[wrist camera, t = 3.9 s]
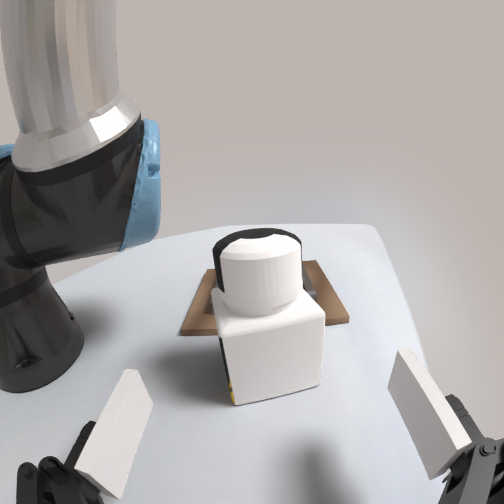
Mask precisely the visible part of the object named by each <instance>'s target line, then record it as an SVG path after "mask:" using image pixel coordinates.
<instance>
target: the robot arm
mask: <svg viewBox="0 0 504 504" xmlns="http://www.w3.org/2000/svg"><path fill="white" fill-rule="evenodd" d="M0 29H1V42H2V51H3V58H4V65H5V70H6V76H7V81H8V86H9V91H10V95H11V99H12V103H13V107H14V111H15V115H16V118H17V122H18V125H19V128H20V132H19V135H18V138H17V140H16V143H15V144H7V145H1V146H0V388H1V389H3V390H6V391H10V392H24V391H29V390H33V389H36V388H39V387H41V386H43V385H45V384H47V383H49V382H51V381H53V380H54V379H56V378H57V377H59V376H60V375H61V374H62V373H64V372H65V371H66V370H67V369H68V368H69V367H70V366H71V365H72V364H73V363H74V361H75V360H76V359H77V357H78V356H79V354H80V352H81V350H82V347H83V342H84V338H83V334H82V332H81V329H80V327H79V325H78V322H77V320H76V318H75V317H74V315H73V314H72V313H71V312H69V310H68V308H67V307H66V305H65V304H64V302H63V301H62V299H61V298H60V296H59V295H58V294H57V292H56V291H55V289H54V288H53V286H52V285H51V283H50V281H49V278H48V275H47V271H46V268H45V266H46V265H50V264H55V263H60V262H65V261H70V260H75V259H80V258H85V257H90V256H95V255H101V254H107V253H112V252H117V251H118V252H121V251H123V250H125V249H126V248H129V247H134V246H137V245H141V244H145V243H148V242H150V241H151V240H152V239H154V237H155V236H156V235H157V233H158V230H159V226H160V209H161V207H160V206H161V186H160V173H159V171H160V134H159V126H158V123H157V122H156V121H154V120H148V119H143V120H142V121H141V114H140V105H139V103H138V102H137V101H136V100H135V99H134V98H132V97H130V96H129V95H127V94H125V93H124V92H122V91H121V90H120V88H119V82H118V69H117V52H116V0H0ZM387 388H388V390H389V392H390V394H391V396H392V398H393V400H394V402H395V404H396V406H397V408H398V410H399V412H400V414H401V416H402V418H403V420H404V423H405V425H406V427H407V429H408V431H409V433H410V435H411V438H412V440H413V442H414V444H415V447H416V449H417V451H418V453H419V456H420V458H421V460H422V463H423V465H424V467H425V470H426V472H427V475H428V477H429V479H430V480H431V479H434V478H436V477H438V476H440V475H442V474H444V473H445V472H446V471H447V470H448V469H449V468H450V470H451V472H450V473H449V474H448V475H447V476H446V477H445V478H444V480H443V481H442V483H444V482H445V481H446V480H447V479H448V480H447V483H446V485H445V488H444V491H443V493H442V496H441V498H440V500H439V503H438V504H504V438H503V439H500V440H494V439H491V438H485V437H484V436H483V435H482V434H481V432H480V430H479V429H478V427H477V426H476V424H475V422H474V421H473V419H472V418H471V416H470V415H468V412H467V410H466V409H465V408H464V406H463V404H462V403H461V401H460V400H459V399H458V398H457V397H455V396H454V395H452V394H451V395H448V396H446V397H444V396H443V394H442V393H441V391H440V390H439V388H438V387H437V385H436V384H435V382H434V381H433V379H432V378H431V376H430V375H429V373H428V372H427V370H426V369H425V368H424V366H423V365H422V363H421V362H420V360H419V359H418V358H417V356H416V355H415V353H414V352H413V351H412V349H411V348H410V347H409V348H405V349H401V350H398V351H397V355H396V359H395V363H394V366H393V370H392V373H391V377H390V380H389V383H388V387H387ZM153 405H154V404H153V402H152V400H151V398H150V396H149V394H148V391H147V389H146V387H145V385H144V383H143V381H142V378H141V376H140V374H139V371H138V370H131V369H125V371H124V372H123V374H122V376H121V378H120V380H119V381H118V383H117V385H116V387H115V389H114V390H113V392H112V394H111V396H110V398H109V400H108V402H107V403H106V405H105V407H104V409H103V411H102V413H101V415H100V417H99V419H98V421H97V422H94V421H89V422H88V423H87V424H86V425H85V426H84V427H83V429H82V430H81V432H80V434H79V436H78V438H77V440H76V443H75V444H74V446H73V448H72V449H71V451H70V453H69V455H68V457H67V459H66V461H65V463H64V465H63V464H62V463H61V462H60V461H59V460H58V459H57V458H56V457H53V456H47V457H45V458H43V459H42V460H41V461H40V463H39V465H38V468H37V467H36V466H34V465H33V464H32V463H29V462H25V463H23V464H21V465H20V467H19V468H18V473H17V493H16V504H104V503H103V501H102V498H101V497H100V496H99V493H100V491H101V492H102V493H104V494H105V495H106V496H109V497H112V498H115V499H119V500H121V497H122V494H123V491H124V488H125V485H126V482H127V479H128V476H129V473H130V470H131V467H132V464H133V461H134V458H135V455H136V452H137V449H138V447H139V444H140V441H141V438H142V435H143V433H144V430H145V427H146V424H147V422H148V419H149V416H150V413H151V411H152V408H153Z"/></svg>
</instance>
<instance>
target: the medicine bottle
mask: <svg viewBox="0 0 504 504" xmlns="http://www.w3.org/2000/svg"><path fill="white" fill-rule="evenodd" d="M212 251H213V258H214V265H215V272H216V278H217V285H218V288H213V289H212V291H211V296H212V302H213V308H214V314H215V320H216V325H217V331H218V336H219V341H220V346H221V351H222V356H223V361H224V366H225V371H226V375H227V380H228V385H229V389H230V394H231V398H232V402H233V403H234V404H235V405H241V404H246V403H251V402H256V401H261V400H265V399H270V398H274V397H278V396H282V395H286V394H290V393H294V392H297V391H301V390H305V389H308V388H311V387H315V386H318V385H320V383H321V378H322V366H323V352H324V335H325V312H324V311H323V309H322V308H321V307H320V306H319V305H318V304H317V303H316V302H315V301H314V300H313V299H312V298H311V297H310V295H309V294H308V293H307V292H306V291H305V290H304V289H303V275H302V246H301V241H300V239H299V238H298V237H297V236H296V235H294V234H292V233H290V232H287V231H284V230H281V229H275V228H257V229H248V230H243V231H238V232H235V233H232V234H229V235H227V236H226V237H224V238H223V239H221V240H219V241H218V242H217V243H216V244H215V246H214V248H213V250H212Z"/></svg>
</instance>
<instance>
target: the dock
mask: <svg viewBox="0 0 504 504" xmlns="http://www.w3.org/2000/svg"><path fill="white" fill-rule="evenodd" d="M302 275H303V289H304V290H305V291H306V292H307V293H308V294H309V295H310V297H311V298H312V299H313V300H314V301H315V302H316V303H317V304H318V305H319V306H320V307H321V308H322V309H323V311H324V312H325V326H327V325H334V324H341V323H348V322H349V315H348V313H347V311H346V310H345V308H344V306H343V304H342V303H341V301H340V299H339V298H338V296H337V294H336V292H335V291H334V289H333V287H332V286H331V284H330V282H329V281H328V279H327V278H326V276H325V274H324V273H323V271H322V269H321V268H320V266H319V264H318V263H317V261H316V260H312V261H302ZM213 288H218V285H217V278H216V272H215V269H207V271H206V273H205V276H204V278H203V280H202V282H201V285H200V287H199V289H198V291H197V294H196V296H195V298H194V301H193V303H192V305H191V308H190V310H189V312H188V315H187V317H186V319H185V322H184V324H183V326H182V329H181V331H182V335H183V336H195V335H218V331H217V325H216V320H215V314H214V308H213V302H212V296H211V291H212V289H213Z"/></svg>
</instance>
